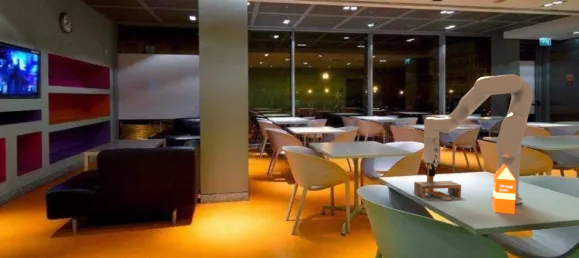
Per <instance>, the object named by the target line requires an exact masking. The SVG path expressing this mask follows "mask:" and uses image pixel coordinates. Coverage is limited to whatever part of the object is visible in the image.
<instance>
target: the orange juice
mask: <svg viewBox="0 0 579 258" xmlns="http://www.w3.org/2000/svg"><path fill="white" fill-rule="evenodd" d="M492 185H493V186H492V189H493V190H492V197H493V200H492V205H491V206H492V209H493V211H494V212H495V213H504V214H514V215H515V210H516V209H515V207H516V204H515V192H516V180H515V178H514V177H513V176H512V174H511V173H510V171H509V170H508V169H507V167H506V166H505V165H504V164H503V165H502V166H501V168H500V169H499V170H498V171H497V170H496V172H495V174H493V184H492Z"/></svg>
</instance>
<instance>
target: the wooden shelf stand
mask: <svg viewBox="0 0 579 258" xmlns="http://www.w3.org/2000/svg"><path fill="white" fill-rule="evenodd" d="M413 185H414V187H413V188H414V190H413V194H414V193H415V194H414V195H416V196H419V197H420V198H422V199H426V195H427V194H426V193H427V192H426V189H435V190H439V189H440V190H441V189H447V193H449V194H451V195H453V196H455V197H458V198H461V197H462V184H460V183H457V182H455V181H452V180H439V181H438V180H435V181H434V180H433V181H429V182H427V181H414V183H413Z"/></svg>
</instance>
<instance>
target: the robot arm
mask: <svg viewBox="0 0 579 258" xmlns="http://www.w3.org/2000/svg"><path fill="white" fill-rule="evenodd" d="M505 94H511V95H510V96H511V99H510V104H509V108H508V111H507V114H506V116H505V117H504V119H503V120H502V123H501V125H500V130H499V133H498V137H497V140H496V143H495V150H496V153H497V162H496V172H497V171H498V170H499V169H500V168H501V166H502V165H503V164H504V165H505V166H506V167H507V169H508V170H509V171H510V173H511V174H512V176H513V177H514V178H515V180H516V192H515V205H519V204H522V201H523V198H522V197H520V193H519V190H520V189H519V185H520V167H521V152H522V145H521V144H522V140H523V137H524V133H525V131H526V128H527V123H528V117H529V114H530V111H531V106H532V102H533V91H532V88H531V86H530V84H529V83H528V82H527V81H526V80H525V79H524V78H522V77H521V76H519V75H517V74H512V73H511V74H502V75H496V76H495V75H492V76H483V77H480V78H478V79H477V80H476V81H475V83H474V85H473V86H472V87H471V89H470V90H469V91H468V92H467V93H466V94H464V95H463V96H462V97H461V99H460V100H459V102H458V105H457V106H456V107H455V108H454V110H453V111H452V112H451V113H449V115H448V116H447V117H440V118H439V117H426V118H424V123H423V125H424V126H423V128H424V129H423V152H422V153H423V154H422V159H423V162H424V164H425V168H426V169H425V176H427V164H430V169H429V177H433V178H434V177H435V176H436V169H437V167H438V166H439V164H440V162H441V148H440V133H445V134H447V133H451V132H454V131H455V130H457V129H458V128H459V126H460V125H462V124H463V123H464V122H465V120H467V118H469V116H471V115H472V114H473V113H474V112H475V110H477V109H478V108H479V107H480V106H481V105H482V104H483V103H484V102H486V100H487V99H488V98H489V97H490V96H491V95H492V96H493V95H494V96H495V95H505ZM491 201H493V196H492V197H491Z"/></svg>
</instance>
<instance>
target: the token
mask: <svg viewBox="0 0 579 258" xmlns="http://www.w3.org/2000/svg"><path fill="white" fill-rule="evenodd" d="M440 200H441V201H449V202H450V201H452V196H451V195H448V196H441V198H440Z"/></svg>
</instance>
